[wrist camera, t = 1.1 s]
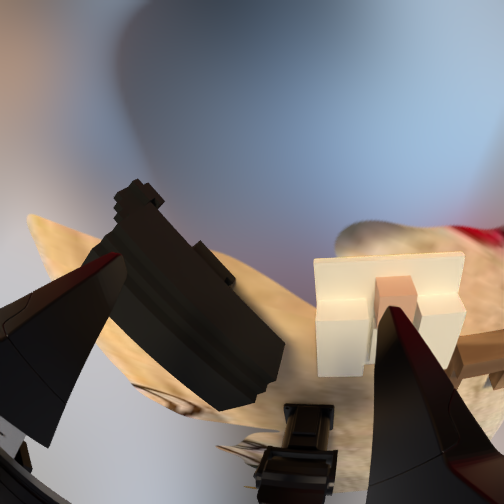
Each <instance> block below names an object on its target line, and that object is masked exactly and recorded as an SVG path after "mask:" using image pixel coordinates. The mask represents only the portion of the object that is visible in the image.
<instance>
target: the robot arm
mask: <svg viewBox="0 0 504 504" xmlns="http://www.w3.org/2000/svg"><path fill="white" fill-rule="evenodd" d="M126 277H127V270H126V266H125V262H124V258H123V256H122V255H121V254H119V253H115V252H111V253H108V254H106V255H104V256H102V257H100V258H98V259H96V260H94V261H92V262H90V263H88V264H86V265H84V266H82V267H80V268H78V269H76V270H74V271H72V272H70V273H68V274H66V275H64V276H62V277H60V278H58V279H56V280H54V281H52V282H51V283H48V284H47V285H44V286H43V287H41V288H39V289H37V290H35V291H33V293H29V294H28V295H26V296H24V297H22V298H20V299H18V300H16V301H15V302H13V303H11V304H8V305H6V306H4V307H2V308H0V504H71V503H70V502H68V501H67V500H65V499H64V498H62V497H61V496H59V495H58V494H57V493H55V492H54V491H52V490H51V489H50V488H48V487H47V486H46V485H44V484H43V483H42V482H40V481H39V480H38V479H37V478H35V477H34V476H33V475H32V474H31V472H32V469H33V468H32V465H31V461H30V457H29V453H28V448H27V444H26V442H25V441H24V438H25V436H26V435H27V436H29V437H30V438H32V439H33V440H35V441H36V442H38V443H40V444H41V445H43V446H44V447H46V448H49V446H50V444H51V441H52V439H53V436H54V433H55V431H56V428H57V426H58V423H59V420H60V418H61V416H62V413H63V411H64V409H65V406H66V403H67V401H68V399H69V396H70V394H71V392H72V390H73V388H74V386H75V383H76V381H77V379H78V377H79V375H80V373H81V370H82V368H83V366H84V364H85V362H86V360H87V358H88V356H89V354H90V352H91V350H92V348H93V346H94V344H95V342H96V340H97V338H98V336H99V334H100V332H101V331H102V329H103V327H104V325H105V323H106V321H107V319H108V317H109V315H110V314H111V312H112V309H113V307H114V305H115V302H116V300H117V298H118V296H119V293H120V291H121V289H122V286H123V284H124V282H125V280H126ZM284 413H285V419H286V424H287V425H286V430H285V434H284V438H283V443H282V447H281V448H280V447H273V446H268V447H267V450H265V451H264V454H263V457H262V460H261V462H260V464H259V466H258V468H257V469H256V471H255V473H254V476H253V477H254V478H255V480H256V488H257V489H259V490H258V494H257V499H258V502H259V504H324V502H325V496H326V495H327V496H329V495H330V496H332V492H333V487H334V481H335V474H336V465H337V454H338V450H333V451H327V445H328V437H329V430H332V429H333V420H334V406H332V405H299V404H285V405H284ZM330 466H331V467H330ZM366 504H504V455H502V454H501V453H500V452H498V451H497V449H496V448H495V447H494V446H493V444H492V443H491V442H490V440H489V439H488V437H487V436H486V434H485V433H484V431H483V430H482V428H481V427H480V425H479V424H478V422H477V421H476V420H475V418H474V417H473V415H472V414H471V412H470V411H469V409H468V408H467V406H466V404H465V403H464V401H463V400H462V398H461V396H460V395H459V393H458V391H457V390H456V388H454V385H453V384H452V382H451V380H450V379H449V377H448V376H447V374H446V372H445V371H444V369H443V368H442V366H441V365H440V363H439V362H438V360H437V359H436V357H435V356H434V354H433V353H432V351H431V350H430V348H429V347H428V345H427V344H426V342H425V341H424V339H423V338H422V337H421V335H420V334H419V332H418V331H417V329H416V328H415V327H414V325H413V324H412V322H411V321H410V320H409V318H408V317H407V315H406V314H405V313H404V311H403V310H402V309H401V308H400V307H397V306H388V307H387V308H386V310H385V312H384V314H383V316H382V318H381V319H380V321H379V324H378V328H377V343H376V356H375V368H374V423H373V442H372V455H371V466H370V476H369V486H368V492H367V499H366Z"/></svg>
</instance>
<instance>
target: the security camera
mask: <svg viewBox="0 0 504 504" xmlns="http://www.w3.org/2000/svg"><path fill="white" fill-rule="evenodd" d="M114 199H115V201H116V202H117V203H116V205H115V206H114V209H115V210H116V212H117V214H116V216H115V217H114V219H115V221H116V222H117V223H118V224H117V225H116V226H115V228H114V229H113V230H112V231H111V232H110V233H108V234H107V235H105V236H104V238H103V239H102V241H101V242H100V243H99V244H98V245H96V246H95V247H94V248H92V250H91V251H90V253H89V254H88V256H87V258H86V259H85V261H84V262H83V264H82V266H84V265H86V264H88V263H90V262H92V261H94V260H96V259H98V258H100V257H102V256H104V255H106V254H108V253H111V252H115V253H119V254H121V255H122V256H123V258H124V262H125V266H126V270H127V277H126V280H125V282H124V284H123V286H122V289H121V291H120V293H119V296H118V298H117V300H116V302H115V305H114V307H113V309H112V312H111V314H110V315H109V317H110V318H111V319H112V320H113V321H114V322H115V323H116V324H117V325H118V326H119V327H120V328H121V329H122V330H123V331H124V332H125V333H126V334H127V335H128V336H129V337H130V338H131V339H132V340H133V341H134V342H136V343H137V344H138V345H139V346H140V347H141V348H142V349H143V350H144V351H145V352H146V353H147V354H149V355H150V356H151V357H152V358H153V359H154V360H155V361H156V362H157V363H159V364H160V365H161V366H162V367H163V368H164V369H166V370H167V371H168V372H169V373H170V374H171V375H173V376H174V377H175V378H176V379H177V380H179V381H180V382H181V383H182V384H184V385H185V386H186V387H187V388H189V389H190V390H191V391H192V392H194V393H195V394H196V395H198V396H199V397H200V398H201V399H203V400H204V401H205V402H207V403H208V404H209V405H211V406H212V407H213V408H215V409H216V410H218V411H224V410H228V409H232V408H236V407H240V406H244V405H248V404H252V403H255V400H256V397H257V394H260V393H263V392H266V388H267V384H269V383H271V382H274V381H276V379H277V375H278V371H279V367H280V363H281V358H282V354H283V350H284V346H285V343H284V342H283V341H282V340H281V339H280V338H279V337H278V336H277V335H276V334H275V333H274V332H273V331H272V330H271V329H270V328H269V327H268V326H267V325H266V324H265V323H264V322H263V321H262V320H261V319H260V318H259V317H258V316H257V315H256V314H255V313H254V312H253V311H252V310H251V309H250V308H249V307H248V306H247V305H246V304H245V303H244V302H243V301H242V300H241V299H240V297H239V296H238V295H237V294H236V293H235V292H234V291H233V290H232V289H231V288H230V287H229V285H231V284H232V283H233V282H234V280H235V277H234V276H233V275H232V274H231V273H230V272H229V271H228V270H227V268H226V267H225V266H224V265H223V264H222V263H221V262H220V261H219V260H218V259H217V258H216V257H215V256H214V255H213V253H212V252H211V251H210V250H209V249H208V248H207V247H206V246H205V245H204V244H203V243H202V242H201V240H200V241H199V242H198V243H197V244H195V245H194V246H193V247H191V246H190V245H189V244H188V243H187V241H186V240H185V239H184V238H183V237H182V236H181V235H180V234H179V233H178V232H177V230H176V229H174V227H173V226H172V225H171V224H170V223H169V222H168V221H167V219H166V218H165V217H164V216H163V215H162V214H161V213H160V212H159V210H158V208H159V207H160V206H161V205H162V204H163V203H164V202H165V201H164V200H163V199H162V197H161V196H160V195H159V194H158V193H157V192H156V191H155V190H154V188H153V187H152V186H151V185H150V184H149V183H146V184H144V185H143V184H142V183H141V181H140V180H139V179H136V180H134V181H132V183H131V184H130V185H129V187H127V188H125V189H123V190H121V191H119V192H117V194H116V195H115V197H114ZM82 266H81V267H82Z"/></svg>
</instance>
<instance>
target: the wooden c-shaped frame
mask: <svg viewBox="0 0 504 504" xmlns="http://www.w3.org/2000/svg"><path fill="white" fill-rule="evenodd" d="M464 260H465V255H464V254H463V252H462V251H460V252H442V253H423V254H404V255H384V256H363V257H342V258H319V259H314V273H315V286H316V301H317V311H316V321H315V323H316V341H317V364H318V377H357V376H363V370H364V364H375V356H376V343H377V328H378V324H379V321H380V319H381V318H382V316H383V314H384V312H385V310H386V308H387V307H388V306H397V307H400V308H401V309H402V310H403V311H404V313H405V314H406V315H407V317H408V318H409V320H410V321H411V322H412V324H413V325H414V327H415V328H416V329H417V331H418V332H419V334H420V335H421V337H422V338H423V339H424V341H425V342H426V344H427V345H428V347H429V348H430V350H431V351H432V353H433V354H434V356H435V357H436V359H437V360H438V362H439V363H440V365H441V366H442V368H443V369H447V367H448V365H449V362H450V360H451V357H452V354H453V352H454V349H455V346H456V343H457V341H458V338H459V335H460V332H461V329H462V326H463V322H464V319H465V316H466V313H467V311H466V309H465V307H464V305H463V303H462V301H461V299H460V297H459V295H458V290H459V286H460V281H461V276H462V271H463V266H464Z"/></svg>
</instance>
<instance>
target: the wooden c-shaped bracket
mask: <svg viewBox="0 0 504 504" xmlns="http://www.w3.org/2000/svg"><path fill="white" fill-rule="evenodd" d="M444 371H445V372H446V374H447V376H448V377H449V379H450V380H451V382H452V384H453V385H454V388H456V390H457V389H458V387H459V385H460V383H461V381H462V379H465V378H470V377H475V376H480V375H485V374H489V378H490V381H491V384H492V387H493V390H497V389H501V388H504V329H503V330H498V331H492V332H486V333H480V334H473V335H466V336H459V338H458V341H457V343H456V346H455V349H454V352H453V354H452V357H451V360H450V362H449V365H448V367H447V369H444Z"/></svg>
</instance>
